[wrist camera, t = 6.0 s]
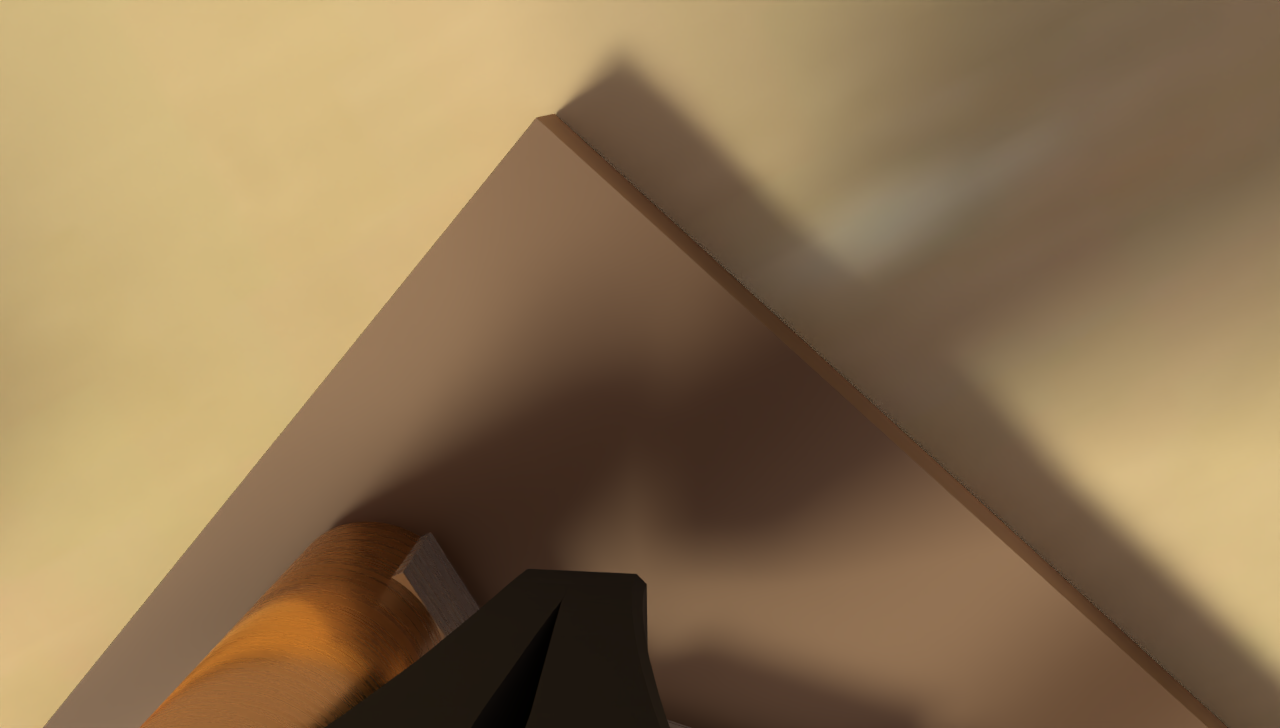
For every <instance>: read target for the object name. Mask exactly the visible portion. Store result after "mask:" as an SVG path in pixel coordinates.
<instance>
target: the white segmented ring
mask: <svg viewBox="0 0 1280 728" xmlns="http://www.w3.org/2000/svg"><path fill="white" fill-rule="evenodd" d="M479 609H480V607H479V606H478V604H477V603H476V601H475V600H474V598H473V597H472V595H471V593H470V592H469V590H468V589H467V587H466V586H465V584H464V583H463V581H462V579H461V578H460V576H459V575H458V573H457V572H456V570H455V569H454V567H453V566H452V564H451V562H450V561H449V559H448V558H447V556H446V555H445V553H444V552H443V550H442V548H441V547H440V545H439V544H438V542H437V541H436V539H435V538H434V536H433V535H432V533H431V532H430V533H428V534H425V535H423V536H421V537H420V536H418V535H416V534H414V533H412V532H410V531H408V530H405V529H403V528H400V527H397V526H394V525H390V524H386V523H378V522H356V523H349V524H345V525H341V526H338V527H336V528H333V529H331V530H329V531H327V532H326V533H324V534H322V535H321V536H319V537H318V538H317V539H316V540H314V541H313V542H312V543H311V544H310V545H309V546H308V548H307V549H306V550H305V551H304V552H303V553H302V554H301V555H300V556H299V557H298V558H297V559H296V560H295V561H294V563H293V564H292V565H291V566H290V567H289V568H288V569H287V570H286V571H285V572H284V573H283V574H282V575H281V576H280V578H279V579H278V580H277V581H276V582H275V583H274V584H273V585H272V586H271V587H270V588H269V589H268V590H267V591H266V593H265V594H264V595H263V596H262V597H261V598H260V599H259V600H258V601H257V602H256V603H255V604H254V605H253V606H252V608H251V609H250V610H249V611H248V612H247V613H246V614H245V615H244V616H243V617H242V618H241V619H240V620H239V621H238V623H237V624H236V625H235V626H234V627H233V628H232V629H231V630H230V631H229V632H228V633H227V634H226V635H225V636H224V638H223V639H222V640H221V641H220V642H219V643H218V644H217V645H216V646H215V647H214V648H213V649H212V650H211V651H210V653H209V654H208V655H207V656H206V657H205V658H204V659H203V660H202V661H201V662H200V663H199V664H198V665H197V666H196V668H195V669H194V670H193V671H192V672H191V673H190V674H189V675H188V676H187V677H186V678H185V679H184V680H183V682H182V683H181V684H180V685H179V686H178V687H177V688H176V689H175V690H174V691H173V692H172V693H171V694H170V695H169V697H168V698H167V699H166V700H165V701H164V702H163V703H162V704H161V705H160V706H159V707H158V708H157V709H156V710H155V712H154V713H153V714H152V715H151V716H150V717H149V718H148V719H147V720H146V721H145V722H144V723H143V724H142V725H141V727H140V728H324V727H326V726H327V725H329V724H330V723H331V722H333V721H334V720H336V719H337V718H339V717H340V716H342V715H343V714H345V713H346V712H348V711H349V710H350V709H352V708H353V707H354V706H356V705H357V704H359V703H360V702H361V701H363V700H364V699H365V698H367V697H368V696H369V695H371V694H372V693H373V692H375V691H376V690H378V689H379V688H380V687H382V686H383V685H384V684H386V683H387V682H388V681H390V680H391V679H393V678H394V677H395V676H397V675H398V674H399V673H401V672H402V671H403V670H405V669H406V668H407V667H409V666H410V665H412V664H413V663H414V662H416V661H417V660H418V659H419V658H421V657H422V656H423V655H424V654H426V653H427V652H428V651H429V650H431V649H432V648H433V647H434V646H435V645H437V644H438V643H439V642H440V641H442V640H443V639H444V638H445V637H446V636H448V635H449V634H450V633H451V632H452V631H454V630H455V629H456V628H457V627H459V626H460V625H461V624H462V623H463V622H465V621H466V620H467V619H468V618H469V617H471V616H472V615H473V614H474V613H475V612H476V611H478V610H479ZM667 721H668V723H669V726H670V728H691V727H688V726H685V725H682V724H679V723H676V722H673V721H670V720H667Z"/></svg>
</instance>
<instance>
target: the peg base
mask: <svg viewBox="0 0 1280 728" xmlns="http://www.w3.org/2000/svg"><path fill="white" fill-rule="evenodd" d="M356 522H378V523H386V524H390V525H394V526H397V527H400V528H403V529H405V530H408V531H410V532H412V533H414V534H416V535H418V536H420V537H421V536H423V535H425V534H428V533H430V532H431V533H432V535H433V536H434V538H435V539H436V541H437V542H438V544H439V545H440V547H441V548H442V550H443V552H444V553H445V555H446V556H447V558H448V559H449V561H450V562H451V564H452V566H453V567H454V569H455V570H456V572H457V573H458V575H459V576H460V578H461V579H462V581H463V583H464V584H465V586H466V587H467V589H468V590H469V592H470V593H471V595H472V597H473V598H474V600H475V601H476V603H477V604H478V606H479V607H480V608H481V607H482V606H484V605H485V604H486V603H487V602H488V601H489V600H490V599H492V598H493V597H494V596H495V595H496V594H497V593H499V592H500V591H501V590H502V589H503V588H504V587H506V586H507V585H508V584H509V583H510V582H512V581H513V580H514V579H515V578H516V577H518V576H519V575H520V574H521V573H523V572H524V571H525V570H526V569H546V570H567V571H589V572H610V573H631V574H637V575H638V576H639V577H640V578H641V579H642V580H643V581H644V582H645V583H646V584H647V631H648V654H649V659H650V662H651V666H652V670H653V674H654V678H655V681H656V685H657V689H658V693H659V696H660V699H661V702H662V706H663V709H664V712H665V715H666V718H667V720H670V721H673V722H676V723H679V724H682V725H685V726H688V727H691V728H1228V727H1227V726H1226V725H1224V724H1223V723H1222V722H1221V721H1220V720H1219V719H1218V718H1217V717H1216V716H1215V715H1213V714H1212V713H1211V712H1210V711H1209V710H1208V709H1207V708H1206V707H1205V706H1204V705H1202V704H1201V703H1200V702H1199V701H1198V700H1197V699H1196V698H1195V697H1194V696H1193V695H1191V694H1190V693H1189V692H1188V691H1187V690H1186V689H1185V688H1184V687H1183V686H1182V685H1181V684H1179V683H1178V682H1177V681H1176V680H1175V679H1174V678H1173V677H1172V676H1171V675H1170V674H1168V673H1167V672H1166V671H1165V670H1164V669H1163V668H1162V667H1161V666H1160V665H1159V664H1157V663H1156V662H1155V661H1154V660H1153V659H1152V658H1151V657H1150V656H1149V655H1148V654H1146V653H1145V652H1144V651H1143V650H1142V649H1141V648H1140V647H1139V646H1138V645H1137V644H1136V643H1134V642H1133V641H1132V640H1131V639H1130V638H1129V637H1128V636H1127V635H1126V634H1125V633H1123V632H1122V631H1121V630H1120V629H1119V628H1118V627H1117V626H1116V625H1115V624H1114V623H1112V622H1111V621H1110V620H1109V619H1108V618H1107V617H1106V616H1105V615H1104V614H1103V613H1101V612H1100V611H1099V610H1098V609H1097V608H1096V607H1095V606H1094V605H1093V604H1092V603H1091V602H1089V601H1088V600H1087V599H1086V598H1085V597H1084V596H1083V595H1082V594H1081V593H1080V592H1078V591H1077V590H1076V589H1075V588H1074V587H1073V586H1072V585H1071V584H1070V583H1069V582H1067V581H1066V580H1065V579H1064V578H1063V577H1062V576H1061V575H1060V574H1059V573H1058V572H1057V571H1055V570H1054V569H1053V568H1052V567H1051V566H1050V565H1049V564H1048V563H1047V562H1046V561H1044V560H1043V559H1042V558H1041V557H1040V556H1039V555H1038V554H1037V553H1036V552H1035V551H1033V550H1032V549H1031V548H1030V547H1029V546H1028V545H1027V544H1026V543H1025V542H1024V541H1022V540H1021V539H1020V538H1019V537H1018V536H1017V535H1016V534H1015V533H1014V532H1013V531H1012V530H1010V529H1009V528H1008V527H1007V526H1006V525H1005V524H1004V523H1003V522H1002V521H1001V520H999V519H998V518H997V517H996V516H995V515H994V514H993V513H992V512H991V511H990V510H988V509H987V508H986V507H985V506H984V505H983V504H982V503H981V502H980V501H979V500H977V499H976V498H975V497H974V496H973V495H972V494H971V493H970V492H969V491H968V490H967V489H965V488H964V487H963V486H962V485H961V484H960V483H959V482H958V481H957V480H956V479H954V478H953V477H952V476H951V475H950V474H949V473H948V472H947V471H946V470H945V469H943V468H942V467H941V466H940V465H939V464H938V463H937V462H936V461H935V460H934V459H932V458H931V457H930V456H929V455H928V454H927V453H926V452H925V451H924V450H923V449H922V448H920V447H919V446H918V445H917V444H916V443H915V442H914V441H913V440H912V439H911V438H909V437H908V436H907V435H906V434H905V433H904V432H903V431H902V430H901V429H900V428H898V427H897V426H896V425H895V424H894V423H893V422H892V421H891V420H890V419H889V418H888V417H886V416H885V415H884V414H883V413H882V412H881V411H880V410H879V409H878V408H877V407H875V406H874V405H873V404H872V403H871V402H870V401H869V400H868V399H867V398H866V397H864V396H863V395H862V394H861V393H860V392H859V391H858V390H857V389H856V388H855V387H853V386H852V385H851V384H850V383H849V382H848V381H847V380H846V379H845V378H844V377H843V376H841V375H840V374H839V373H838V372H837V371H836V370H835V369H834V368H833V367H832V366H830V365H829V364H828V363H827V362H826V361H825V360H824V359H823V358H822V357H821V356H819V355H818V354H817V353H816V352H815V351H814V350H813V349H812V348H811V347H810V346H808V345H807V344H806V343H805V342H804V341H803V340H802V339H801V338H800V337H799V336H798V335H796V334H795V333H794V332H793V331H792V330H791V329H790V328H789V327H788V326H787V325H785V324H784V323H783V322H782V321H781V320H780V319H779V318H778V317H777V316H776V315H774V314H773V313H772V312H771V311H770V310H769V309H768V308H767V307H766V306H765V305H763V304H762V303H761V302H760V301H759V300H758V299H757V298H756V297H755V296H754V295H753V294H751V293H750V292H749V291H748V290H747V289H746V288H745V287H744V286H743V285H742V284H740V283H739V282H738V281H737V280H736V279H735V278H734V277H733V276H732V275H731V274H729V273H728V272H727V271H726V270H725V269H724V268H723V267H722V266H721V265H720V264H719V263H717V262H716V261H715V260H714V259H713V258H712V257H711V256H710V255H709V254H708V253H706V252H705V251H704V250H703V249H702V248H701V247H700V246H699V245H698V244H697V243H695V242H694V241H693V240H692V239H691V238H690V237H689V236H688V235H687V234H686V233H684V232H683V231H682V230H681V229H680V228H679V227H678V226H677V225H676V224H675V223H674V222H672V221H671V220H670V219H669V218H668V217H667V216H666V215H665V214H664V213H663V212H661V211H660V210H659V209H658V208H657V207H656V206H655V205H654V204H653V203H652V202H650V201H649V200H648V199H647V198H646V197H645V196H644V195H643V194H642V193H641V192H639V191H638V190H637V189H636V188H635V187H634V186H633V185H632V184H631V183H630V182H629V181H627V180H626V179H625V178H624V177H623V176H622V175H621V174H620V173H619V172H618V171H616V170H615V169H614V168H613V167H612V166H611V165H610V164H609V163H608V162H607V161H605V160H604V159H603V158H602V157H601V156H600V155H599V154H598V153H597V152H596V151H594V150H593V149H592V148H591V147H590V146H589V145H588V144H587V143H586V142H585V141H584V140H582V139H581V138H580V137H579V136H578V135H577V134H576V133H575V132H574V131H573V130H571V129H570V128H569V127H568V126H567V125H566V124H565V123H564V122H563V121H562V120H560V119H559V118H558V117H557V116H556V115H555V114H552V115H547V116H542V117H538V118H536V119H535V120H534V121H533V122H532V124H531V125H530V126H529V127H528V129H527V130H526V131H525V132H524V134H523V135H522V136H521V137H520V138H519V140H518V141H517V142H516V143H515V145H514V146H513V147H512V148H511V150H510V151H509V152H508V153H507V155H506V156H505V157H504V158H503V160H502V161H501V162H500V163H499V164H498V166H497V167H496V168H495V169H494V171H493V172H492V173H491V174H490V176H489V177H488V178H487V179H486V181H485V182H484V183H483V184H482V185H481V187H480V188H479V189H478V190H477V192H476V193H475V194H474V195H473V197H472V198H471V199H470V200H469V202H468V203H467V204H466V205H465V207H464V208H463V209H462V210H461V211H460V213H459V214H458V215H457V216H456V218H455V219H454V220H453V221H452V223H451V224H450V225H449V226H448V228H447V229H446V230H445V231H444V232H443V234H442V235H441V236H440V237H439V239H438V240H437V241H436V242H435V244H434V245H433V246H432V247H431V249H430V250H429V251H428V252H427V254H426V255H425V256H424V257H423V258H422V260H421V261H420V262H419V263H418V265H417V266H416V267H415V268H414V270H413V271H412V272H411V273H410V275H409V276H408V277H407V278H406V279H405V281H404V282H403V283H402V284H401V286H400V287H399V288H398V289H397V291H396V292H395V293H394V294H393V296H392V297H391V298H390V299H389V301H388V302H387V303H386V304H385V305H384V307H383V308H382V309H381V310H380V312H379V313H378V314H377V315H376V317H375V318H374V319H373V320H372V322H371V323H370V324H369V325H368V326H367V328H366V329H365V330H364V331H363V333H362V334H361V335H360V336H359V338H358V339H357V340H356V341H355V343H354V344H353V345H352V346H351V348H350V349H349V350H348V351H347V352H346V354H345V355H344V356H343V357H342V359H341V360H340V361H339V362H338V364H337V365H336V366H335V367H334V369H333V370H332V371H331V372H330V373H329V375H328V376H327V377H326V378H325V380H324V381H323V382H322V383H321V385H320V386H319V387H318V388H317V390H316V391H315V392H314V393H313V395H312V396H311V397H310V398H309V399H308V401H307V402H306V403H305V404H304V406H303V407H302V408H301V409H300V411H299V412H298V413H297V414H296V416H295V417H294V418H293V419H292V420H291V422H290V423H289V424H288V425H287V427H286V428H285V429H284V430H283V432H282V433H281V434H280V435H279V437H278V438H277V439H276V440H275V442H274V443H273V444H272V445H271V446H270V448H269V449H268V450H267V451H266V453H265V454H264V455H263V456H262V458H261V459H260V460H259V461H258V463H257V464H256V465H255V466H254V467H253V469H252V470H251V471H250V472H249V474H248V475H247V476H246V477H245V479H244V480H243V481H242V482H241V484H240V485H239V486H238V487H237V488H236V490H235V491H234V492H233V493H232V495H231V496H230V497H229V498H228V500H227V501H226V502H225V503H224V505H223V506H222V507H221V508H220V510H219V511H218V512H217V513H216V514H215V516H214V517H213V518H212V519H211V521H210V522H209V523H208V524H207V526H206V527H205V528H204V529H203V531H202V532H201V533H200V534H199V535H198V537H197V538H196V539H195V540H194V542H193V543H192V544H191V545H190V547H189V548H188V549H187V550H186V552H185V553H184V554H183V555H182V557H181V558H180V559H179V560H178V561H177V563H176V564H175V565H174V566H173V568H172V569H171V570H170V571H169V573H168V574H167V575H166V576H165V578H164V579H163V580H162V581H161V582H160V584H159V585H158V586H157V587H156V589H155V590H154V591H153V592H152V594H151V595H150V596H149V597H148V599H147V600H146V601H145V602H144V604H143V605H142V606H141V607H140V608H139V610H138V611H137V612H136V613H135V615H134V616H133V617H132V618H131V620H130V621H129V622H128V623H127V625H126V626H125V627H124V628H123V629H122V631H121V632H120V633H119V634H118V636H117V637H116V638H115V639H114V641H113V642H112V643H111V644H110V646H109V647H108V648H107V649H106V651H105V652H104V653H103V654H102V655H101V657H100V658H99V659H98V660H97V662H96V663H95V664H94V665H93V667H92V668H91V669H90V670H89V672H88V673H87V674H86V675H85V676H84V678H83V679H82V680H81V681H80V683H79V684H78V685H77V686H76V688H75V689H74V690H73V691H72V693H71V694H70V695H69V696H68V698H67V699H66V700H65V701H64V702H63V704H62V705H61V706H60V707H59V709H58V710H57V711H56V712H55V714H54V715H53V716H52V717H51V719H50V720H49V721H48V722H47V723H46V725H45V726H44V727H43V728H140V727H141V725H142V724H143V723H144V722H145V721H146V720H147V719H148V718H149V717H150V716H151V715H152V714H153V713H154V712H155V710H156V709H157V708H158V707H159V706H160V705H161V704H162V703H163V702H164V701H165V700H166V699H167V698H168V697H169V695H170V694H171V693H172V692H173V691H174V690H175V689H176V688H177V687H178V686H179V685H180V684H181V683H182V682H183V680H184V679H185V678H186V677H187V676H188V675H189V674H190V673H191V672H192V671H193V670H194V669H195V668H196V666H197V665H198V664H199V663H200V662H201V661H202V660H203V659H204V658H205V657H206V656H207V655H208V654H209V653H210V651H211V650H212V649H213V648H214V647H215V646H216V645H217V644H218V643H219V642H220V641H221V640H222V639H223V638H224V636H225V635H226V634H227V633H228V632H229V631H230V630H231V629H232V628H233V627H234V626H235V625H236V624H237V623H238V621H239V620H240V619H241V618H242V617H243V616H244V615H245V614H246V613H247V612H248V611H249V610H250V609H251V608H252V606H253V605H254V604H255V603H256V602H257V601H258V600H259V599H260V598H261V597H262V596H263V595H264V594H265V593H266V591H267V590H268V589H269V588H270V587H271V586H272V585H273V584H274V583H275V582H276V581H277V580H278V579H279V578H280V576H281V575H282V574H283V573H284V572H285V571H286V570H287V569H288V568H289V567H290V566H291V565H292V564H293V563H294V561H295V560H296V559H297V558H298V557H299V556H300V555H301V554H302V553H303V552H304V551H305V550H306V549H307V548H308V546H309V545H310V544H311V543H312V542H313V541H314V540H316V539H317V538H318V537H319V536H321V535H322V534H324V533H326V532H327V531H329V530H331V529H333V528H336V527H338V526H341V525H345V524H349V523H356Z"/></svg>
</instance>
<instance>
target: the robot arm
mask: <svg viewBox="0 0 1280 728" xmlns="http://www.w3.org/2000/svg"><path fill="white" fill-rule="evenodd" d="M324 728H670V726H669V723H668V721H667V718H666V715H665V712H664V709H663V706H662V702H661V699H660V696H659V693H658V689H657V685H656V681H655V678H654V674H653V670H652V666H651V662H650V659H649V654H648V631H647V584H646V583H645V582H644V581H643V580H642V579H641V578H640V577H639V576H638V575H637V574H631V573H610V572H589V571H567V570H546V569H526V570H525V571H524V572H523V573H521V574H520V575H519V576H518V577H516V578H515V579H514V580H513V581H512V582H510V583H509V584H508V585H507V586H506V587H504V588H503V589H502V590H501V591H500V592H499V593H497V594H496V595H495V596H494V597H493V598H492V599H490V600H489V601H488V602H487V603H486V604H485V605H484V606H482V607H481V608H480V609H479V610H478V611H476V612H475V613H474V614H473V615H472V616H471V617H469V618H468V619H467V620H466V621H465V622H463V623H462V624H461V625H460V626H459V627H457V628H456V629H455V630H454V631H452V632H451V633H450V634H449V635H448V636H446V637H445V638H444V639H443V640H442V641H440V642H439V643H438V644H437V645H435V646H434V647H433V648H432V649H431V650H429V651H428V652H427V653H426V654H424V655H423V656H422V657H421V658H419V659H418V660H417V661H416V662H414V663H413V664H412V665H410V666H409V667H407V668H406V669H405V670H403V671H402V672H401V673H399V674H398V675H397V676H395V677H394V678H393V679H391V680H390V681H388V682H387V683H386V684H384V685H383V686H382V687H380V688H379V689H378V690H376V691H375V692H373V693H372V694H371V695H369V696H368V697H367V698H365V699H364V700H363V701H361V702H360V703H359V704H357V705H356V706H354V707H353V708H352V709H350V710H349V711H348V712H346V713H345V714H343V715H342V716H340V717H339V718H337V719H336V720H334V721H333V722H331V723H330V724H329V725H327V726H326V727H324Z"/></svg>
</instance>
